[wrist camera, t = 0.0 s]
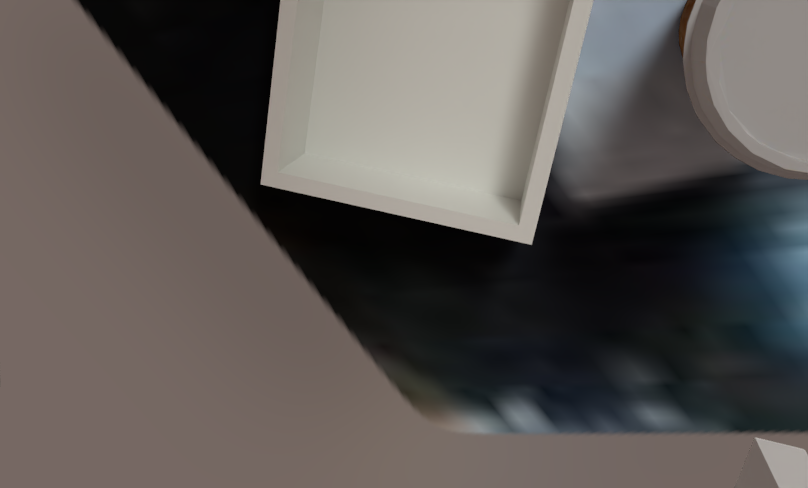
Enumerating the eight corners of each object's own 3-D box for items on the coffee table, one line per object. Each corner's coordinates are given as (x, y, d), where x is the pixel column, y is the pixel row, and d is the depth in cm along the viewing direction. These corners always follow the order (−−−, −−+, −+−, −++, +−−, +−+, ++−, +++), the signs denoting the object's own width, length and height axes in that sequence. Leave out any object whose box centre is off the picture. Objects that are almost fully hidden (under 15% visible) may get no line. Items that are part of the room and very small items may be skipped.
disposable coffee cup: (686, 158, 37) (748, 231, 26) (613, -18, 35) (646, -21, 24) (886, 73, 35) (1052, 114, 23) (819, -124, 32) (965, -183, 21)
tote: (335, -194, 35) (304, -222, 30) (622, -147, 33) (636, -168, 29) (292, 162, 41) (260, 184, 36) (532, 214, 40) (531, 244, 35)
